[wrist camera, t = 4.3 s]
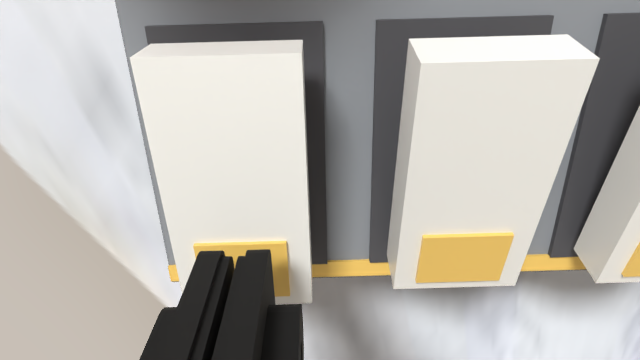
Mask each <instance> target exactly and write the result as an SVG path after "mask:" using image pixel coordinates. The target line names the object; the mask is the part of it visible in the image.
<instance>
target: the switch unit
mask: <svg viewBox="0 0 640 360" xmlns="http://www.w3.org/2000/svg"><path fill="white" fill-rule="evenodd" d="M115 3H116V8H117V13H118V18H119V23H120V28H121V32H122V37H123V42H124V47H125V52H126V57H127V62H128V67H129V72H130V77H131V81H132V86H133V91H134V96H135V101H136V106H137V111H138V116H139V121H140V126H141V130H142V135H143V140H144V145H145V150H146V155H147V160H148V165H149V170H150V175H151V179H152V184H153V189H154V194H155V199H156V204H157V209H158V214H159V219H160V224H161V229H162V233H163V238H164V243H165V248H166V253H167V258H168V263H169V266H168V269H169V274H170V279H171V281H172V282H179V277H178V273H177V268H176V264H175V259H174V255H173V250H172V246H171V241H170V237H169V232H168V228H167V223H166V219H165V214H164V210H163V205H162V201H161V196H160V192H159V187H158V183H157V178H156V174H155V169H154V165H153V160H152V156H151V151H150V147H149V143H148V138H147V134H146V129H145V125H144V120H143V116H142V111H141V107H140V102H139V98H138V93H137V89H136V84H135V80H134V75H133V71H132V66H131V62H130V57H131V56H133V55H134V54H136V53H137V52H139V51H140V50H142V49H143V48H145V47H147V46H148V45H150V44H160V43H197V42H234V41H271V40H303V55H304V81H305V106H306V131H307V156H308V181H309V206H310V231H311V256H312V278H324V277H359V276H391V274H390V269H389V263H388V258H387V247H388V238H389V228H390V218H391V208H392V198H393V188H394V178H395V169H396V159H397V149H398V139H399V129H400V119H401V110H402V100H403V90H404V80H405V70H406V60H407V50H408V41H409V39H414V38H452V37H489V36H526V35H563V34H568V35H569V36H571V37H572V38H573V39H575V40H576V41H577V42H579V43H580V44H581V45H583V46H584V47H585V48H587V49H588V50H589V51H591V52H592V53H593V54H595V55H596V56H597V57H599V58H600V60H599V62H598V65H597V68H596V70H595V73H594V76H593V78H592V81H591V84H590V86H589V89H588V92H587V94H586V97H585V100H584V102H583V105H582V108H581V110H580V113H579V116H578V118H577V121H576V124H575V126H574V129H573V132H572V135H571V137H570V140H569V143H568V145H567V148H566V151H565V153H564V156H563V159H562V161H561V164H560V167H559V169H558V172H557V175H556V177H555V180H554V183H553V185H552V188H551V191H550V193H549V196H548V199H547V201H546V204H545V207H544V209H543V212H542V215H541V217H540V220H539V223H538V225H537V228H536V231H535V233H534V236H533V239H532V241H531V244H530V247H529V249H528V252H527V255H526V257H525V260H524V263H523V265H522V268H521V271H520V272H531V271H565V270H587V269H586V267H585V266H584V264H583V263H582V261H581V260H580V258H579V256H578V255H577V253H576V252H575V250H574V247H575V245H576V242H577V240H578V238H579V236H580V234H581V232H582V229H583V227H584V225H585V223H586V221H587V219H588V216H589V214H590V212H591V210H592V208H593V206H594V203H595V201H596V199H597V197H598V195H599V193H600V190H601V188H602V186H603V184H604V182H605V180H606V177H607V175H608V173H609V171H610V169H611V166H612V164H613V162H614V160H615V158H616V156H617V153H618V151H619V149H620V147H621V145H622V143H623V140H624V138H625V136H626V134H627V132H628V130H629V127H630V125H631V123H632V121H633V119H634V117H635V114H636V112H637V110H638V108H639V106H640V0H115Z"/></svg>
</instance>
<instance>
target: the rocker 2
mask: <svg viewBox="0 0 640 360" xmlns="http://www.w3.org/2000/svg"><path fill="white" fill-rule="evenodd" d="M599 60H600V58H599V57H597V56H596V55H595V54H593V53H592V52H591V51H589V50H588V49H587V48H585V47H584V46H583V45H581V44H580V43H579V42H577V41H576V40H575V39H573V38H572V37H571V36H569V35H568V34H563V35H526V36H489V37H452V38H414V39H409V41H408V50H407V60H406V70H405V80H404V90H403V100H402V110H401V119H400V129H399V139H398V149H397V159H396V169H395V178H394V188H393V198H392V208H391V218H390V228H389V238H388V247H387V258H388V263H389V269H390V274H391V279H392V284H393V289H417V288H451V287H485V286H515V284H516V282H517V279H518V276H519V274H520V271H521V268H522V265H523V263H524V260H525V257H526V255H527V252H528V249H529V247H530V244H531V241H532V239H533V236H534V233H535V231H536V228H537V225H538V223H539V220H540V217H541V215H542V212H543V209H544V207H545V204H546V201H547V199H548V196H549V193H550V191H551V188H552V185H553V183H554V180H555V177H556V175H557V172H558V169H559V167H560V164H561V161H562V159H563V156H564V153H565V151H566V148H567V145H568V143H569V140H570V137H571V135H572V132H573V129H574V126H575V124H576V121H577V118H578V116H579V113H580V110H581V108H582V105H583V102H584V100H585V97H586V94H587V92H588V89H589V86H590V84H591V81H592V78H593V76H594V73H595V70H596V68H597V65H598V62H599Z"/></svg>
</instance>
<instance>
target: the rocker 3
mask: <svg viewBox="0 0 640 360" xmlns="http://www.w3.org/2000/svg"><path fill="white" fill-rule="evenodd" d="M574 250H575V252H576V253H577V255H578V256H579V258H580V260H581V261H582V263H583V264H584V266H585V267H586V269H587V270H588V272H589V273H590V275H591V277H592V278H593V280H594V281H595V283H622V282H640V106H639V108H638V110H637V112H636V114H635V117H634V119H633V121H632V123H631V125H630V127H629V130H628V132H627V134H626V136H625V138H624V140H623V143H622V145H621V147H620V149H619V151H618V153H617V156H616V158H615V160H614V162H613V164H612V166H611V169H610V171H609V173H608V175H607V177H606V180H605V182H604V184H603V186H602V188H601V190H600V193H599V195H598V197H597V199H596V201H595V203H594V206H593V208H592V210H591V212H590V214H589V216H588V219H587V221H586V223H585V225H584V227H583V229H582V232H581V234H580V236H579V238H578V240H577V242H576V245H575V247H574Z"/></svg>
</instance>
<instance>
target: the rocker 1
mask: <svg viewBox="0 0 640 360" xmlns="http://www.w3.org/2000/svg"><path fill="white" fill-rule="evenodd" d="M130 62H131V66H132V71H133V75H134V80H135V84H136V89H137V93H138V98H139V102H140V107H141V111H142V116H143V120H144V125H145V129H146V134H147V138H148V143H149V147H150V151H151V156H152V160H153V165H154V169H155V174H156V178H157V183H158V187H159V192H160V196H161V201H162V205H163V210H164V214H165V219H166V223H167V228H168V232H169V237H170V241H171V246H172V250H173V255H174V259H175V264H176V268H177V273H178V277H179V282H180V286H181V291H182V294H183V291H184V288H185V286H186V283H187V281H188V278H189V276H190V273H191V270H192V268H193V265H194V263H195V260H196V258H197V255H198V253H199V252H200V251H222V250H223V251H224V253H225V256H232V258H233V262H234V269H235V266H236V262H237V258H238V256H245V255H246V251H247V250H261V249H270V251H271V259H272V270H273V281H274V293H275V304H303V303H312V256H311V231H310V206H309V181H308V156H307V131H306V106H305V81H304V55H303V40H271V41H234V42H197V43H160V44H150V45H148V46H147V47H145V48H143V49H142V50H140V51H139V52H137V53H136V54H134V55H133V56H131V57H130Z"/></svg>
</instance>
